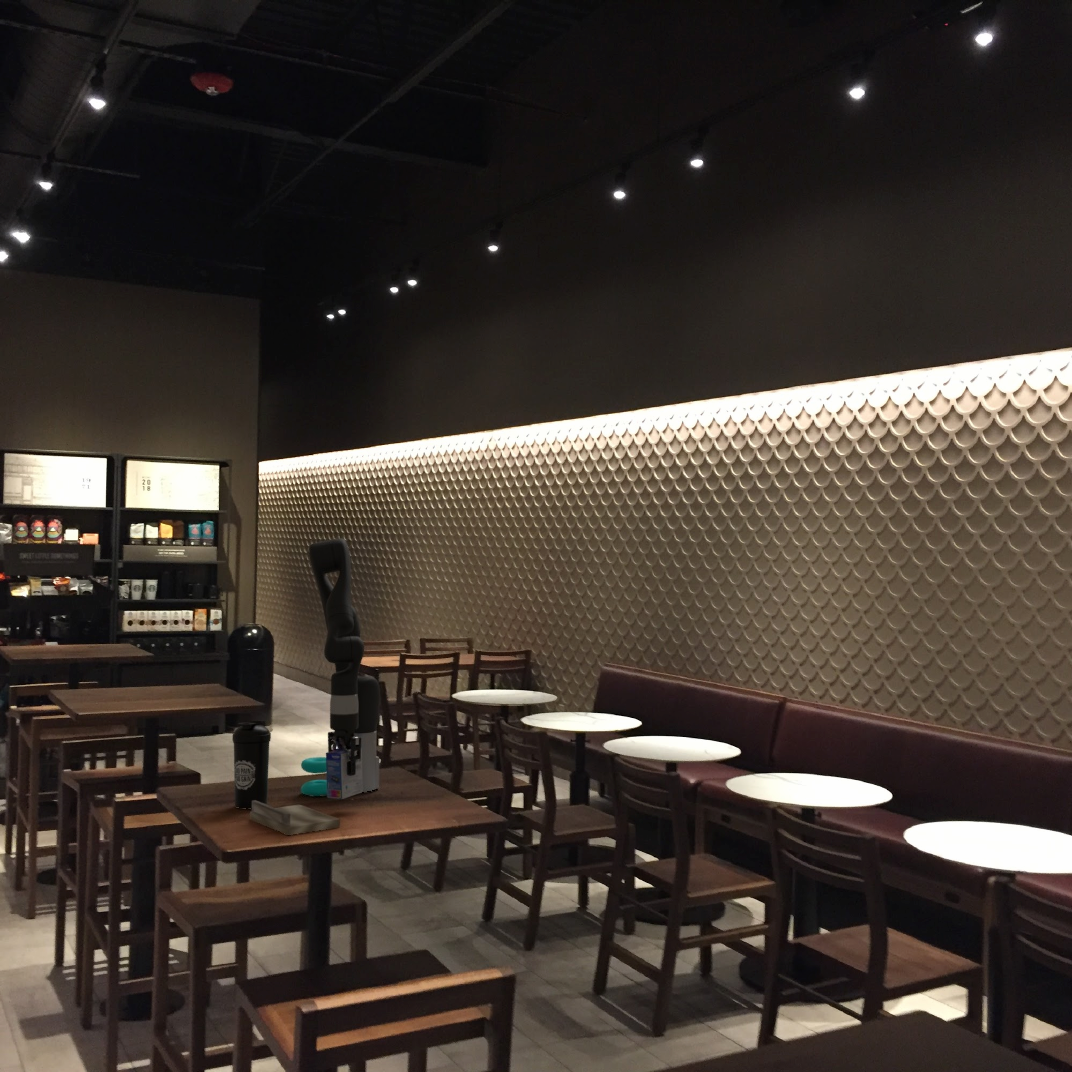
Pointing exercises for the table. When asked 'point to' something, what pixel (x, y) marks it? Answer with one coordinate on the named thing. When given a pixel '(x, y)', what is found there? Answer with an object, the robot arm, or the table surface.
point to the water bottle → (251, 763)
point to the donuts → (316, 785)
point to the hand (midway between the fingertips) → (344, 773)
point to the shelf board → (292, 818)
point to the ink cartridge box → (342, 775)
